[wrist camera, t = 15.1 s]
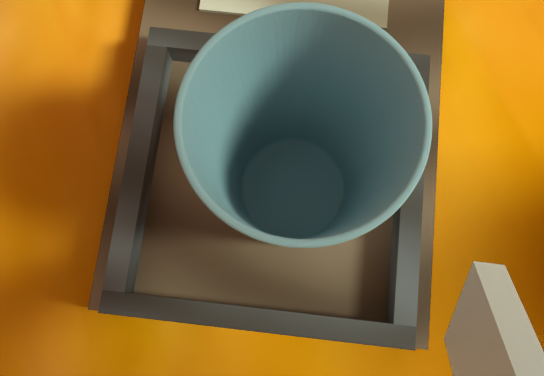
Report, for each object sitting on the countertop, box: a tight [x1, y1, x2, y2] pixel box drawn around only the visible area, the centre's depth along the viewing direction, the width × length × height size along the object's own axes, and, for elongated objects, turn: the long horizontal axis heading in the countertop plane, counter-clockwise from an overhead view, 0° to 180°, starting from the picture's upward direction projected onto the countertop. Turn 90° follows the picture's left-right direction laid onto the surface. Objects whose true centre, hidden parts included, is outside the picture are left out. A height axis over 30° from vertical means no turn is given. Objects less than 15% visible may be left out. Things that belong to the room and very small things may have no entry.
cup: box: [173, 2, 432, 248], centre depth 20 cm, size 8×8×10 cm
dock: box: [88, 0, 444, 350], centre depth 26 cm, size 20×16×3 cm
